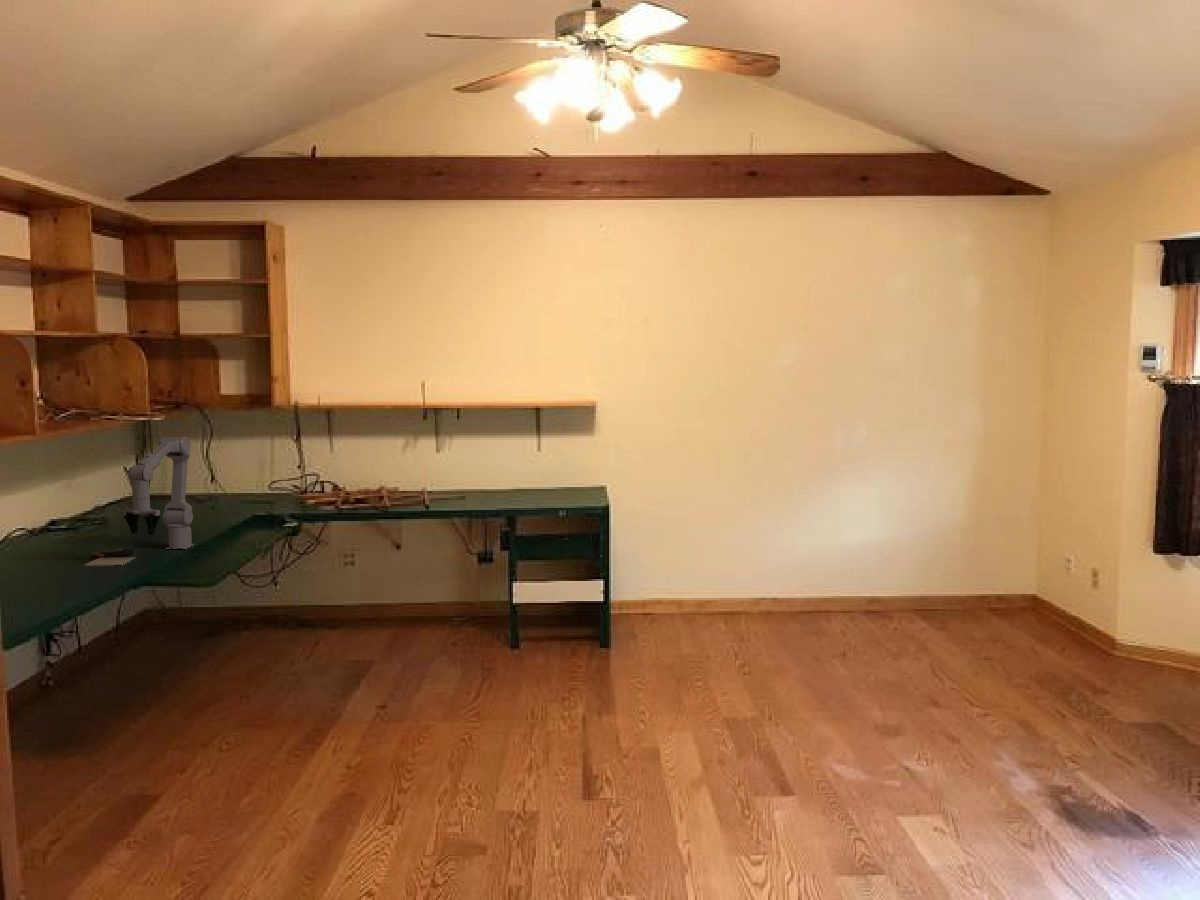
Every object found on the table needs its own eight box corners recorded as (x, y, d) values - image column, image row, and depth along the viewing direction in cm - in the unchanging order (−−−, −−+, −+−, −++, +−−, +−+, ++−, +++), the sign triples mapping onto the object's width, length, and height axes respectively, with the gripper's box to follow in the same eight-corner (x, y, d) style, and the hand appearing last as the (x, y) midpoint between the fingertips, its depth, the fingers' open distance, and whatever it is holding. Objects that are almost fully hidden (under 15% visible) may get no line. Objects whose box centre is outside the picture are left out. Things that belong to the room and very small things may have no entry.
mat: (100, 559, 356) (100, 557, 356) (135, 558, 357) (135, 557, 357) (84, 566, 344) (84, 564, 344) (121, 565, 345) (121, 564, 345)
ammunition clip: (104, 553, 355) (89, 551, 363) (104, 558, 355) (89, 556, 363) (133, 549, 364) (117, 547, 371) (133, 553, 364) (118, 552, 371)
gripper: (116, 498, 349) (118, 534, 350) (149, 500, 345) (151, 537, 346) (131, 495, 356) (133, 531, 357) (163, 497, 352) (165, 533, 353)
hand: (142, 534), depth 352 cm, fingers open, 7 cm apart
